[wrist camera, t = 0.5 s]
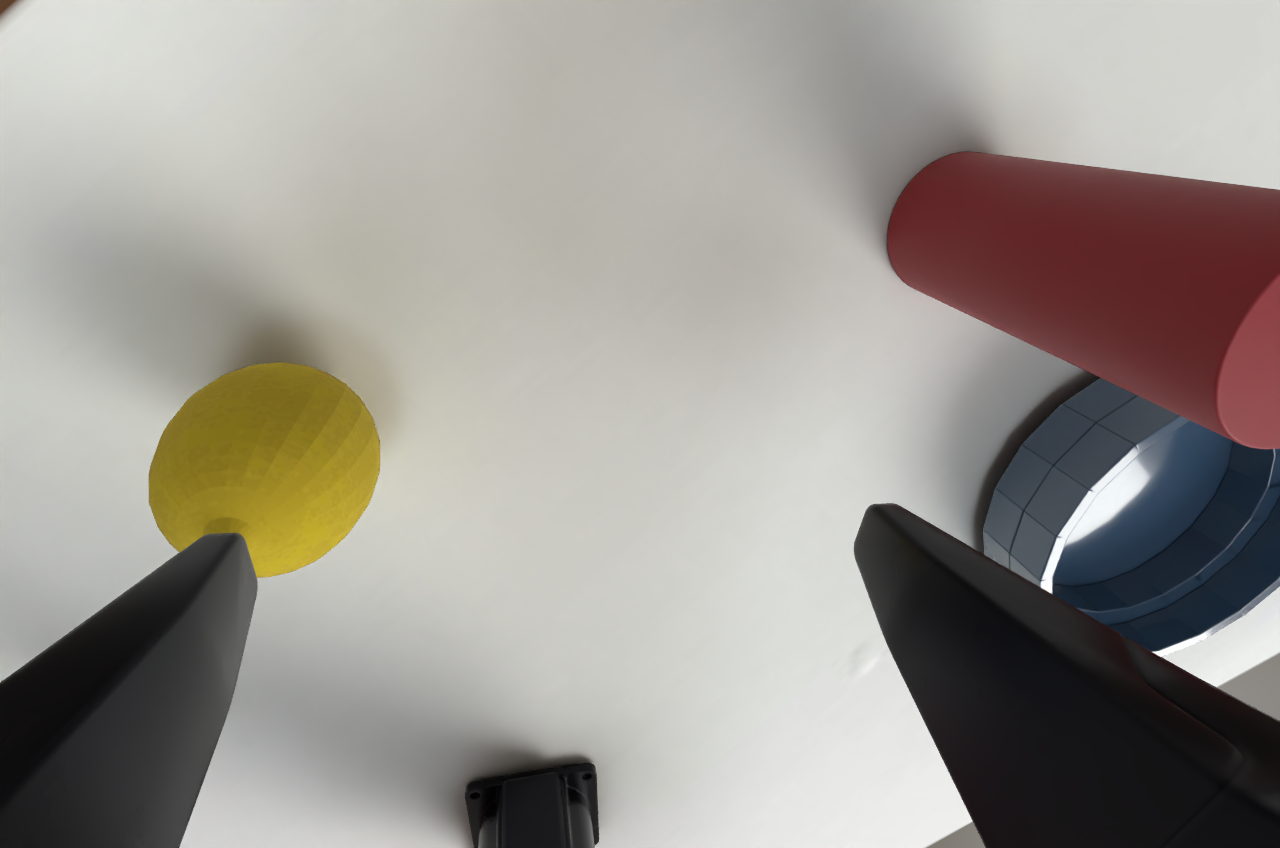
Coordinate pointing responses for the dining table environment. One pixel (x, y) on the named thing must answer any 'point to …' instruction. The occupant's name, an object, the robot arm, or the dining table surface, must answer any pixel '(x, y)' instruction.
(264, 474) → the lemon
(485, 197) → the dining table surface
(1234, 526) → the bowl
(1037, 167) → the candle
